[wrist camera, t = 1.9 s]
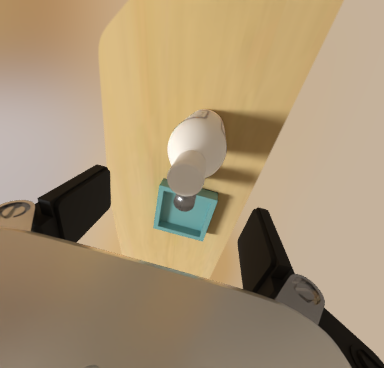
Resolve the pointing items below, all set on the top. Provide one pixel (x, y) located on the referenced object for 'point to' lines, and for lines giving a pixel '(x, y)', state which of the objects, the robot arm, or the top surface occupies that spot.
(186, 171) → the bath foam
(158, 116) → the top surface
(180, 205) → the post
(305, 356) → the robot arm
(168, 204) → the holder tray
